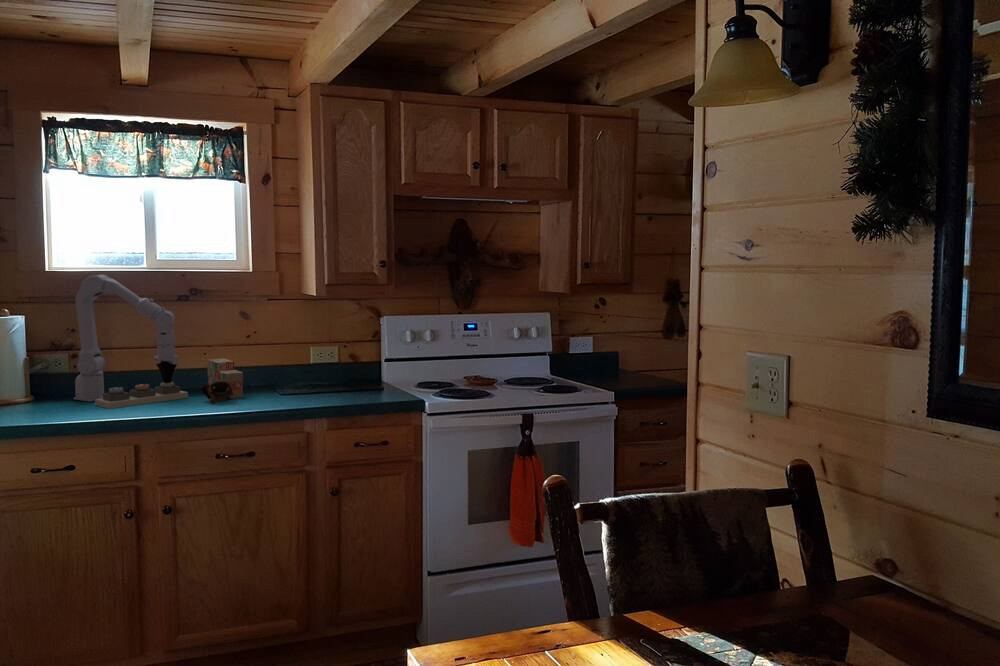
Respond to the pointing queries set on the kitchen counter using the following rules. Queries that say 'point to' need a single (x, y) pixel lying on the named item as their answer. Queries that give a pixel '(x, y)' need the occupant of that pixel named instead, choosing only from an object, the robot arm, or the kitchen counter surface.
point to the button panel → (140, 397)
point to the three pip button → (142, 387)
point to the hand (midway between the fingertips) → (167, 382)
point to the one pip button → (167, 385)
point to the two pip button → (116, 390)
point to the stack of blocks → (225, 375)
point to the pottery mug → (217, 391)
